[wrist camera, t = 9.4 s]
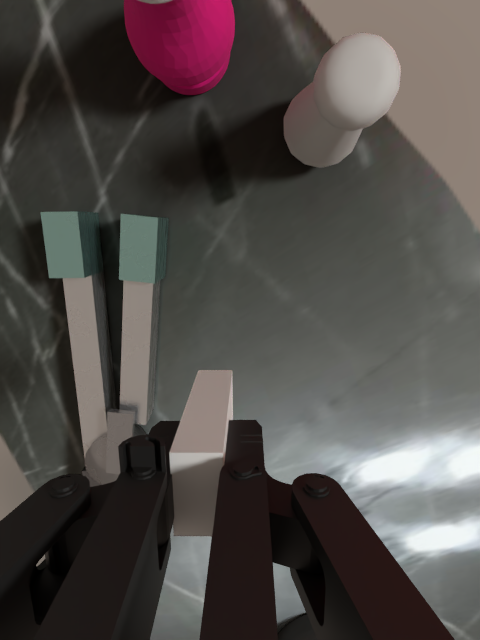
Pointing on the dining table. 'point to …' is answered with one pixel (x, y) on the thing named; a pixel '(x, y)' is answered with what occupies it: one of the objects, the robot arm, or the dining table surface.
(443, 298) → the dining table surface
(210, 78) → the pepper mill
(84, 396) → the tongs fixed
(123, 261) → the tongs jaw
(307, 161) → the salt shaker
